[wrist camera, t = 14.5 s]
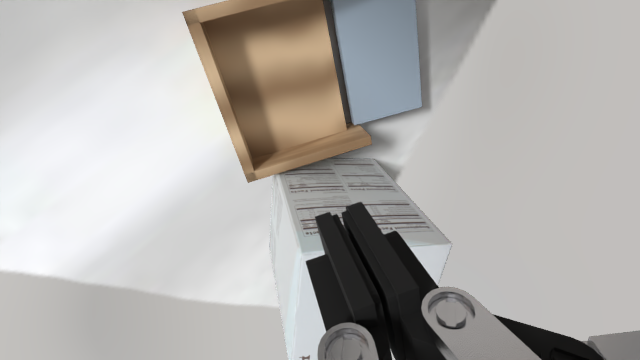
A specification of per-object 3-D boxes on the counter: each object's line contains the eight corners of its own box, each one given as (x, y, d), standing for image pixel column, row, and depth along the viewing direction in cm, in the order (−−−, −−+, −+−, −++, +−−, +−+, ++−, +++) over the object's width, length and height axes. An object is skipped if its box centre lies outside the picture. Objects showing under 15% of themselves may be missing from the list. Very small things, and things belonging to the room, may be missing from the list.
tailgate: (331, -9, 31) (413, -30, 31) (328, -9, 32) (406, -29, 32) (354, 125, 37) (421, 106, 38) (350, 120, 39) (415, 102, 39)
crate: (188, 10, 30) (182, 12, 26) (330, -25, 32) (345, -30, 27) (245, 162, 38) (247, 182, 34) (356, 128, 40) (371, 144, 35)
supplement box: (359, 241, 48) (418, 349, 33) (267, 247, 45) (287, 371, 30) (375, 157, 42) (457, 241, 27) (271, 156, 39) (298, 253, 24)
